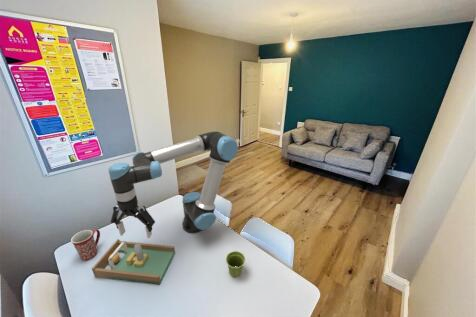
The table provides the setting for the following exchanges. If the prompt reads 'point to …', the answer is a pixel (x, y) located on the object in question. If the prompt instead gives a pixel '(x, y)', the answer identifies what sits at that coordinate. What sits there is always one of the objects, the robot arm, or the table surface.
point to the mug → (86, 243)
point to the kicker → (137, 256)
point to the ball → (115, 258)
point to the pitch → (147, 273)
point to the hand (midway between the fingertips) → (136, 234)
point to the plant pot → (235, 263)
